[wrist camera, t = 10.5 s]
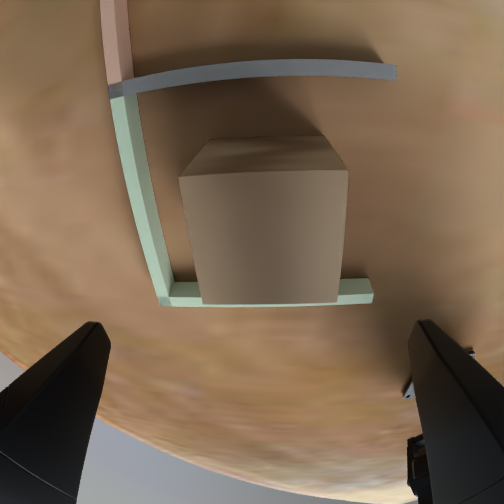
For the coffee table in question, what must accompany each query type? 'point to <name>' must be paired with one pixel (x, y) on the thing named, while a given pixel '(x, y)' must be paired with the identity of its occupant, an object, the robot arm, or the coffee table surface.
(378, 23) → the coffee table surface
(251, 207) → the walnut block
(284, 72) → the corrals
